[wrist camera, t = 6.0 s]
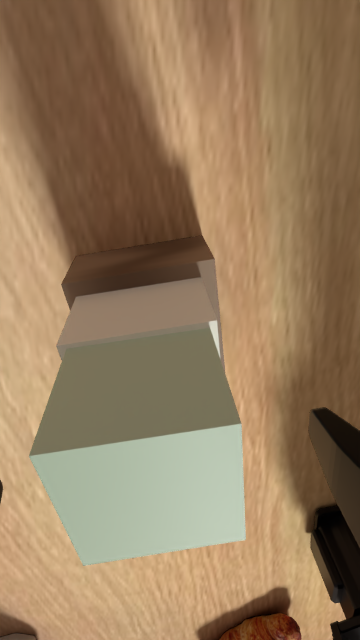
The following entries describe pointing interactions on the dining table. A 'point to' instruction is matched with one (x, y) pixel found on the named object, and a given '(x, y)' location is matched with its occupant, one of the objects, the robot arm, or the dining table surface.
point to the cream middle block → (138, 314)
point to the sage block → (143, 448)
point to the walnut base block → (145, 270)
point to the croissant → (265, 629)
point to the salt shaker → (18, 637)
